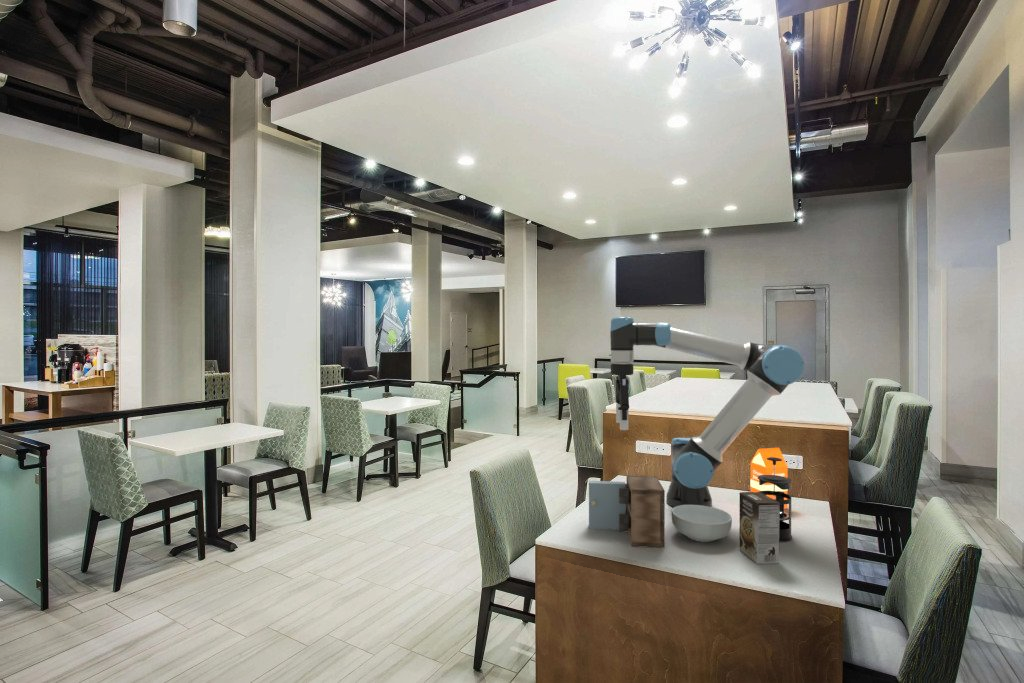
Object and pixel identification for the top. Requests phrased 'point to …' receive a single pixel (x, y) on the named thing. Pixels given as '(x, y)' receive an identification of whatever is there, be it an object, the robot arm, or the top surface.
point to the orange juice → (767, 470)
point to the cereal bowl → (701, 522)
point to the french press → (779, 499)
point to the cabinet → (643, 511)
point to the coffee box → (759, 527)
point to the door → (605, 504)
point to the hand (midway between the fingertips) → (622, 426)
